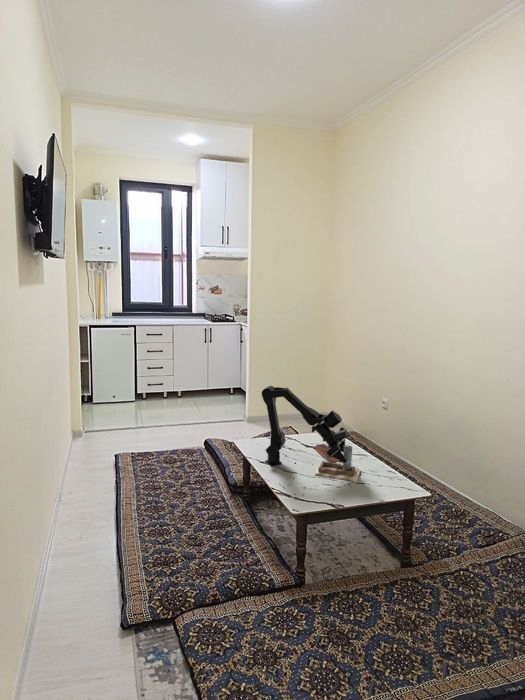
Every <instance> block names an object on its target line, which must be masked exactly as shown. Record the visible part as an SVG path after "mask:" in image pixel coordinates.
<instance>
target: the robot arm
mask: <svg viewBox="0 0 525 700" xmlns="http://www.w3.org/2000/svg"><path fill="white" fill-rule="evenodd" d="M261 397H262V400H263V402H264V404H265V406H266V409H267V417H268V420H269V426H270V431H271V432H270V433H271V434H270V439H269V440H270V444H269V445H268V447H266V448H265V452H266V454H267V460H264V462H265V463H266V464H268V465H270V466H273V467H274V466H276V465H281V464H283V461H281V460H280V459H281V456H280V455H281V453H280V450H281V449H282V448H283V447H284V446H285V444H286V441H287V439H286V437H285V436H286V434H285V433H283V432H282V431H281V428H280V423H279V416H278V410H277V406H276V402H277V398H284V399H285V400H286V401H287V402H288V403H290V404H291V406H293V408H295V409H296V410H297V411H298V412H299V413H300V414H301V416H302V418H303V420H305V422H306V424H307V425H309V426H311V433H314V432H316V433H317V434H318V435H319V436H320V437H321V438H322V441H323V442H325V443H326V445H327V446H328V447H329V449H328V450H327V455H328V456H329V457H330V456H331V457H334V458H336V459H338V460H341V461H343V462H345V463H346V462H347V460H346V459H345V457H344V456H343V453H344V446H345V445H346V439H347V438H348V436H349V433H348V429H347V428H345V427H344V426H342V427H339V430H338V431H335V430H332V429H334V428H336V427H337V426H338V425H339V424H340V423H342V421H343V420H342V417H341V416H340V414H339V413H337V412H336V411H335V410H333V409H331V411H330V412H329V413H328V414H326V415H325V414H322V413H319V412H318V411H317V410H315V409H313V408H312V407H310V406H308V405H306V404H305V403H304V402H303V401H302V400H301V399H300V398H299V397H298V396H297V395H295V394H294V393H293V392H292V391H291V390H290V388H289V387H280V386H279V387H278V386H277V387H275V386H273V385H269V386H268V385H267V387H265V388H264V389H263V390H262V391H261ZM343 462H342V463H343Z"/></svg>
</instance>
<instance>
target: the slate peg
mask: <svg viewBox="0 0 525 700" xmlns="http://www.w3.org/2000/svg"><path fill="white" fill-rule="evenodd" d="M342 454H343V456H344V457H345V459H346V460H347V462H346V463H345V462H342V465H343V470H347V471H351V466H352V460H353V458H352V457H353V446H352V445H350V444H349V445H348V444H347V445H346V444H345V446H344V453H343V452H342Z"/></svg>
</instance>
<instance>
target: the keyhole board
mask: <svg viewBox="0 0 525 700" xmlns="http://www.w3.org/2000/svg"><path fill="white" fill-rule="evenodd" d="M361 469H362V468H361ZM361 469H360V468H356V466H352V465H351V471H347V470H343V464H342V463H338V462H337V463H332V462H328V461H327V460H325V461H324V460H322V461H321V462H320V463H319V465H318V467H317V468H316V470H315V472H314V475H315V476H318V475H320V477H325V476H326V478H332V479H338V480H344V481H351V482H354V483H355V482H356V483H357V482H358V479H359V476H360V474H361Z"/></svg>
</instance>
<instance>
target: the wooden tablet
mask: <svg viewBox="0 0 525 700" xmlns="http://www.w3.org/2000/svg"><path fill="white" fill-rule="evenodd" d="M315 445H316V446H315V447H314V448H315V449H314V450H315V451H316V452H317V453H318V454H319V455H321V456H322V457H323V458H324V459H325V461H326V462H328V461H329V462H332V463H336V462H337V463H338V462H340V463H339V464H342V463H343V461H341V460H338V459H336V458H334V457H331V456H330V457H329V456H328V455H327V450H328V449H329V447H328V446H329V445H328V444H324V443H321V444H315ZM341 462H342V463H341Z"/></svg>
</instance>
